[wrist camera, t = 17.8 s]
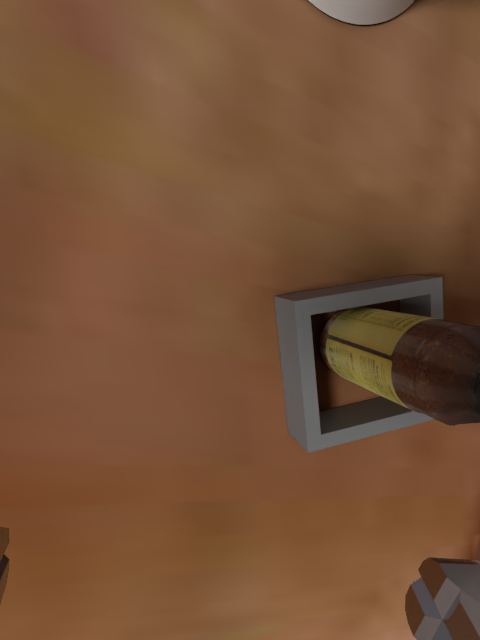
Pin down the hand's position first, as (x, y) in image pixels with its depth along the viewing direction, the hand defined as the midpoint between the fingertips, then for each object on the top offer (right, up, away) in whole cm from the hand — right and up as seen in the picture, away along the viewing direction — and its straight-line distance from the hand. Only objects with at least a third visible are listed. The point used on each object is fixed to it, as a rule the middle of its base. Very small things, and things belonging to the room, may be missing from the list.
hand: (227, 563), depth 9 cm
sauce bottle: (+10, +3, +30) cm, 31 cm away
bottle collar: (+10, +2, +30) cm, 31 cm away
